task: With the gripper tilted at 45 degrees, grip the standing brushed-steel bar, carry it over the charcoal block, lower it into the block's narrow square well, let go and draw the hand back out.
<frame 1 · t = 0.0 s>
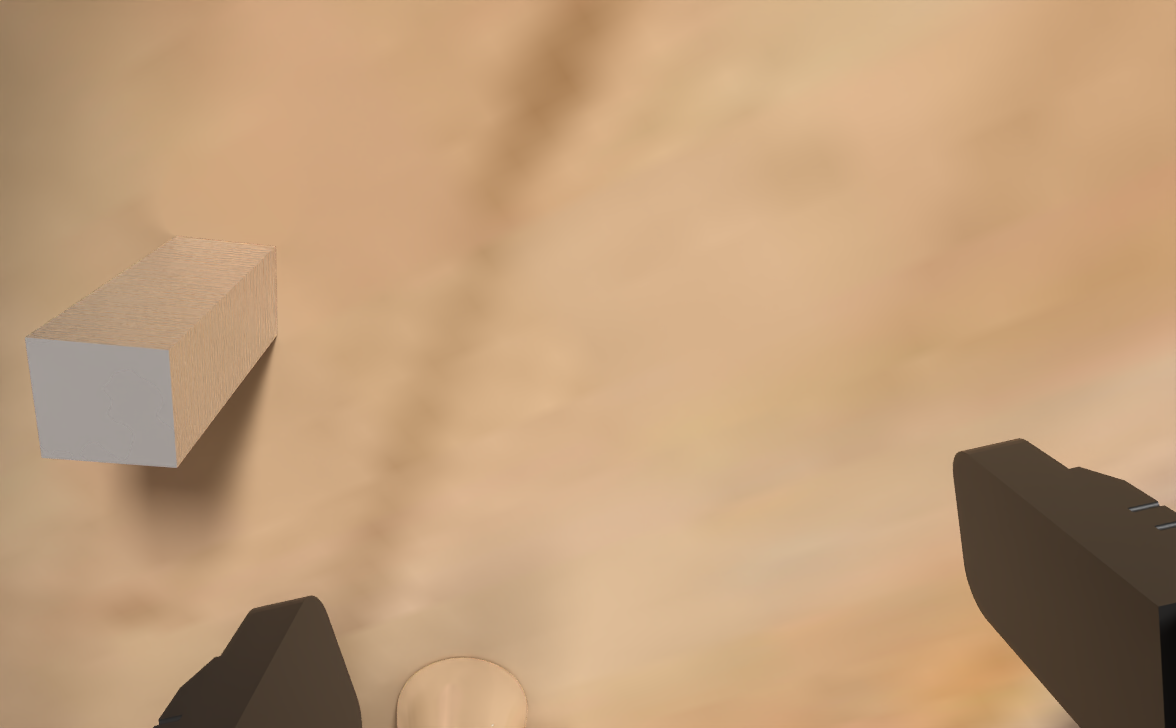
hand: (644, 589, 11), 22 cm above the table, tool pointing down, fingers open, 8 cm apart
beer glass: (463, 702, 40), on the table
steel bar: (227, 286, 32), on the table
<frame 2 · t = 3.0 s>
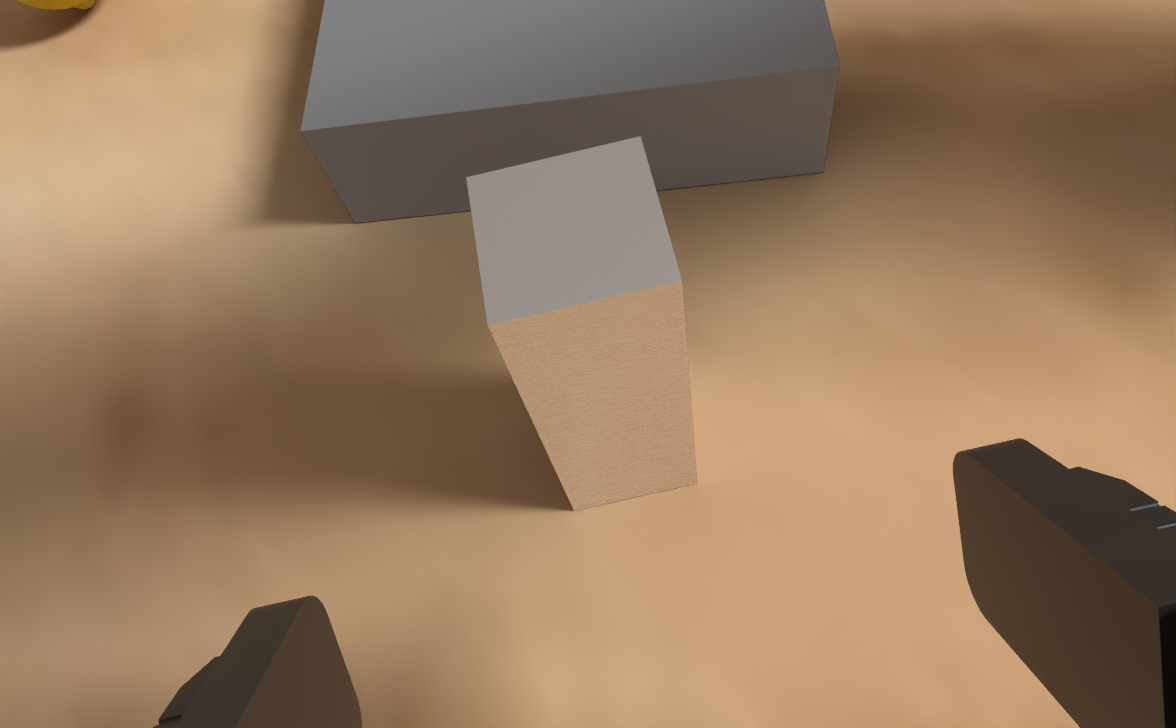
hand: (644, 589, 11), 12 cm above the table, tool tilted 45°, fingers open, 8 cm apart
steel bar: (623, 440, 24), on the table
well block: (578, 35, 33), on the table
lemon: (91, 10, 38), on the table
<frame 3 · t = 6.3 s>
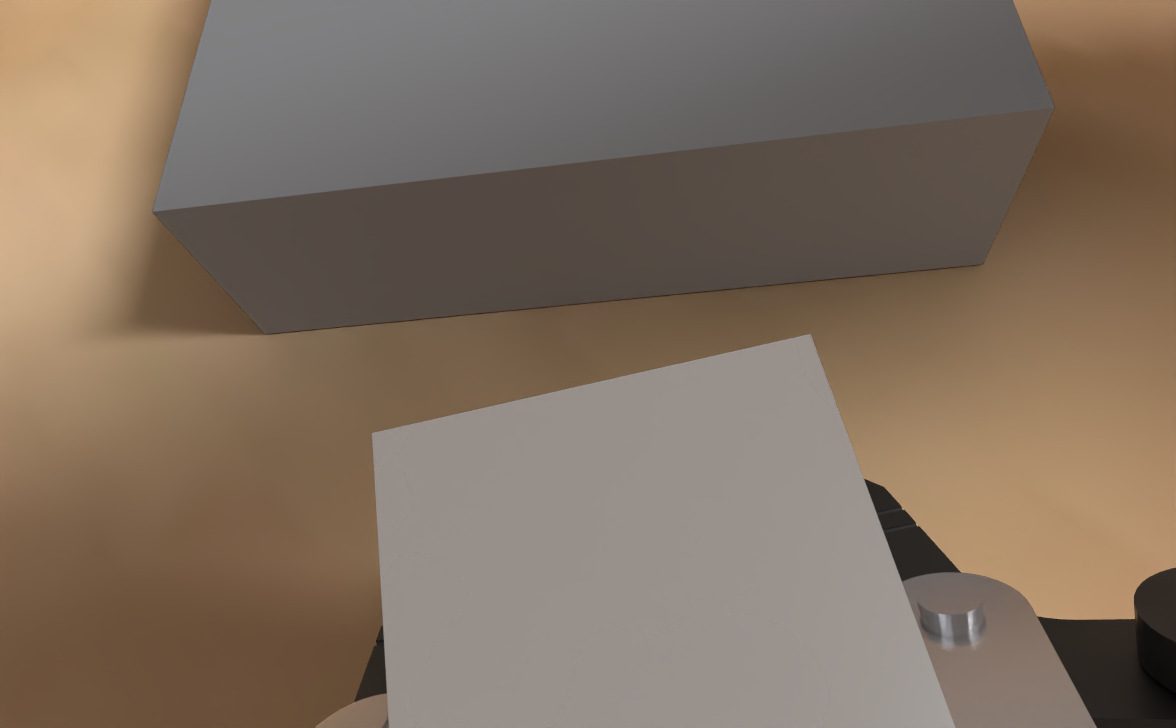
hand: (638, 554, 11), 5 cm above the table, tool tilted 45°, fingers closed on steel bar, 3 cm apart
well block: (596, 49, 23), on the table
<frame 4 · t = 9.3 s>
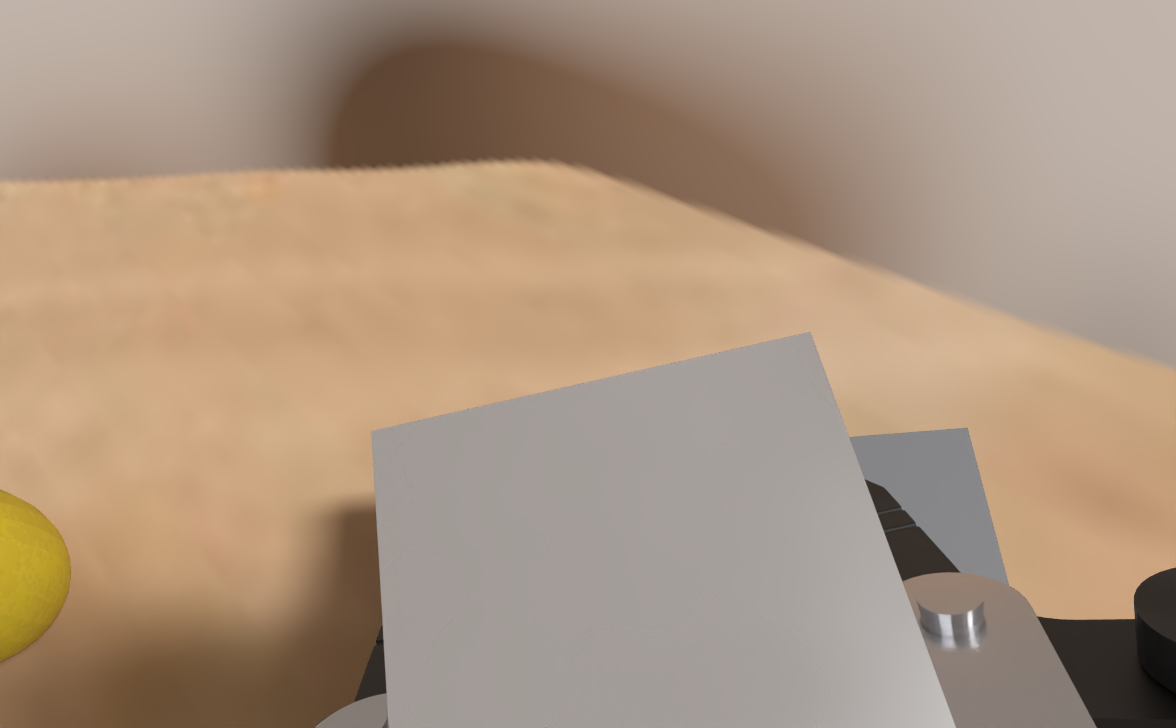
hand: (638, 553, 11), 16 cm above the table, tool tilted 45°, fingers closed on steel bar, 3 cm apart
lemon: (48, 606, 30), on the table
when the fingers open (6 cm above the table, at t = 12.4 s): steel bar drops 1 cm, resting in well block.
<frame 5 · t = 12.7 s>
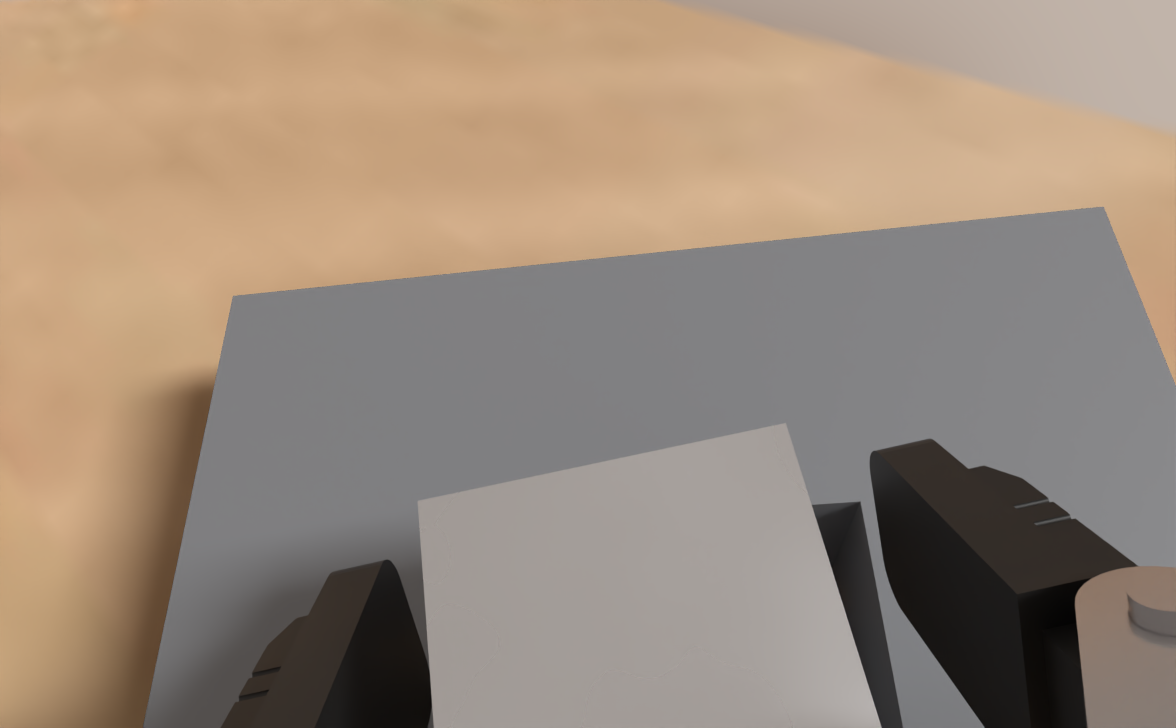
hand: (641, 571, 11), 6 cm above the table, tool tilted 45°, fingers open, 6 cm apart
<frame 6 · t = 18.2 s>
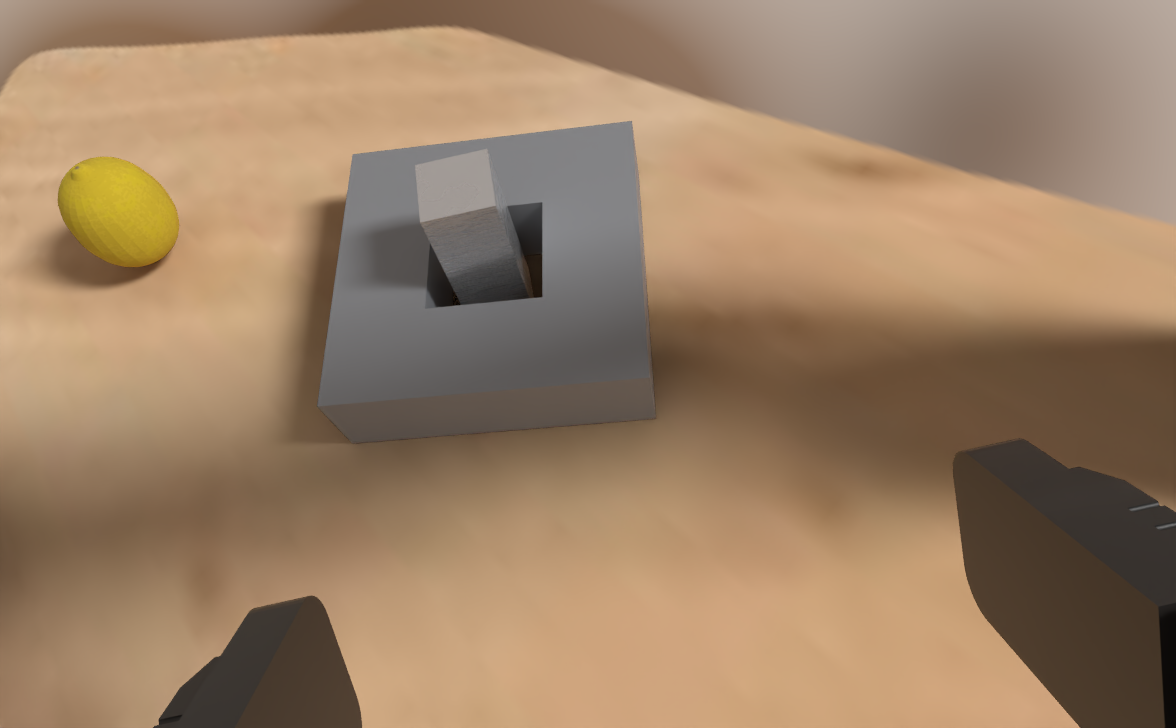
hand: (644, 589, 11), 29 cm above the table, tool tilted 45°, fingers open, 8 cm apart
steel bar: (503, 301, 48), resting in well block
well block: (504, 301, 48), on the table
lemon: (162, 256, 53), on the table
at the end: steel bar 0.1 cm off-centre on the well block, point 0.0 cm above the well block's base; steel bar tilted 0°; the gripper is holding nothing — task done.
